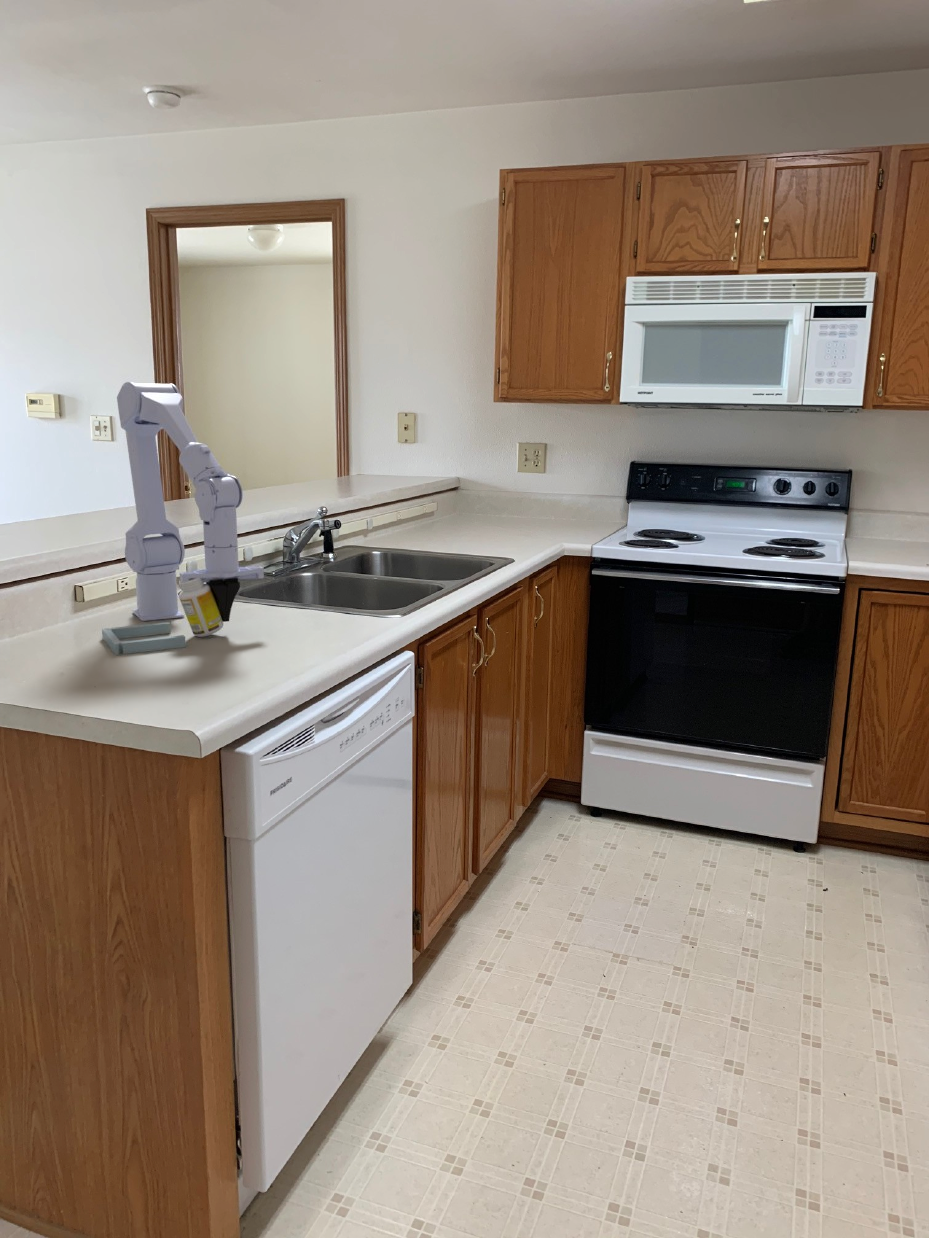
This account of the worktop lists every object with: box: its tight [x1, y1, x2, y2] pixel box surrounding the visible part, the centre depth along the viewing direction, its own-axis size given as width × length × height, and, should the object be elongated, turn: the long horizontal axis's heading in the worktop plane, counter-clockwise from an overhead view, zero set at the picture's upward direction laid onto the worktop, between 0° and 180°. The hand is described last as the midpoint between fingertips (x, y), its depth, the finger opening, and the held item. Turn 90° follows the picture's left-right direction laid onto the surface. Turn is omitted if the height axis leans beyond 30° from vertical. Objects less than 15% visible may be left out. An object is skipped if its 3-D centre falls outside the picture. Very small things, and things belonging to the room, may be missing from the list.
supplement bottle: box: [178, 578, 224, 638], centre depth 162 cm, size 6×6×10 cm
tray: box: [101, 621, 187, 656], centre depth 158 cm, size 12×11×2 cm
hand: (224, 620), depth 165 cm, fingers closed
